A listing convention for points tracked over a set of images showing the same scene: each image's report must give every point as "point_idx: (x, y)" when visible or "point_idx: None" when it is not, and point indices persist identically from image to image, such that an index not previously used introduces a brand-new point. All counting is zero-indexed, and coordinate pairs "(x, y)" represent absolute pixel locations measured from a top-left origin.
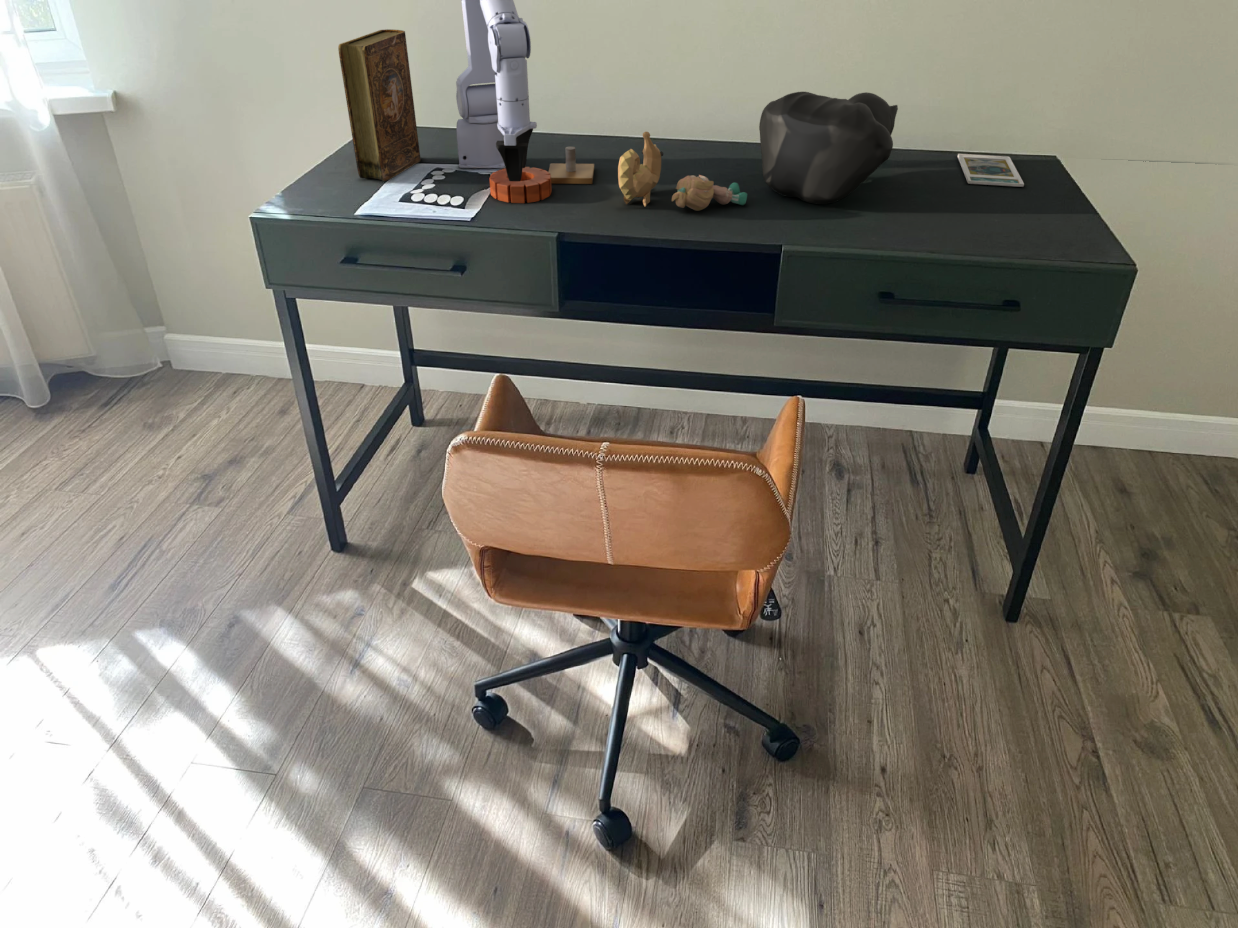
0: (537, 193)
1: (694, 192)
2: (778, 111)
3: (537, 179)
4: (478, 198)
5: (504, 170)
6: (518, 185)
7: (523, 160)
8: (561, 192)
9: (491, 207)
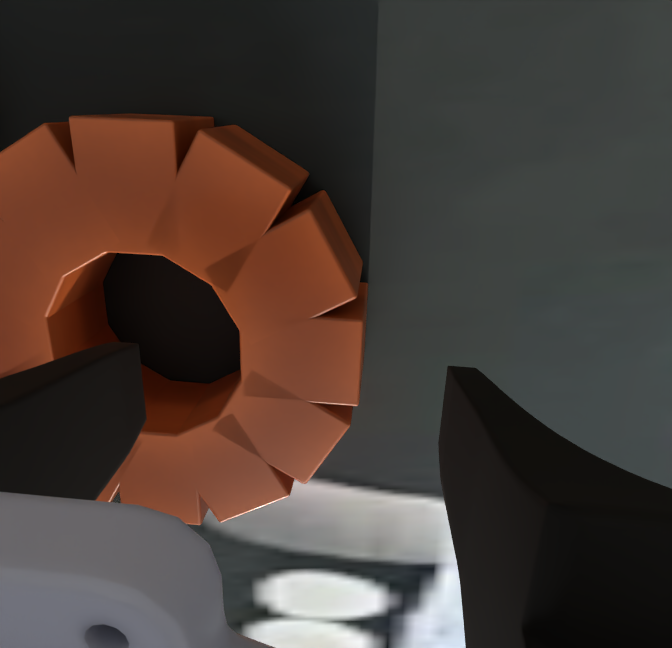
0: (325, 210)
1: None
2: None
3: (199, 224)
4: (285, 513)
5: None
6: (340, 356)
7: (107, 378)
8: (142, 37)
9: (423, 452)
